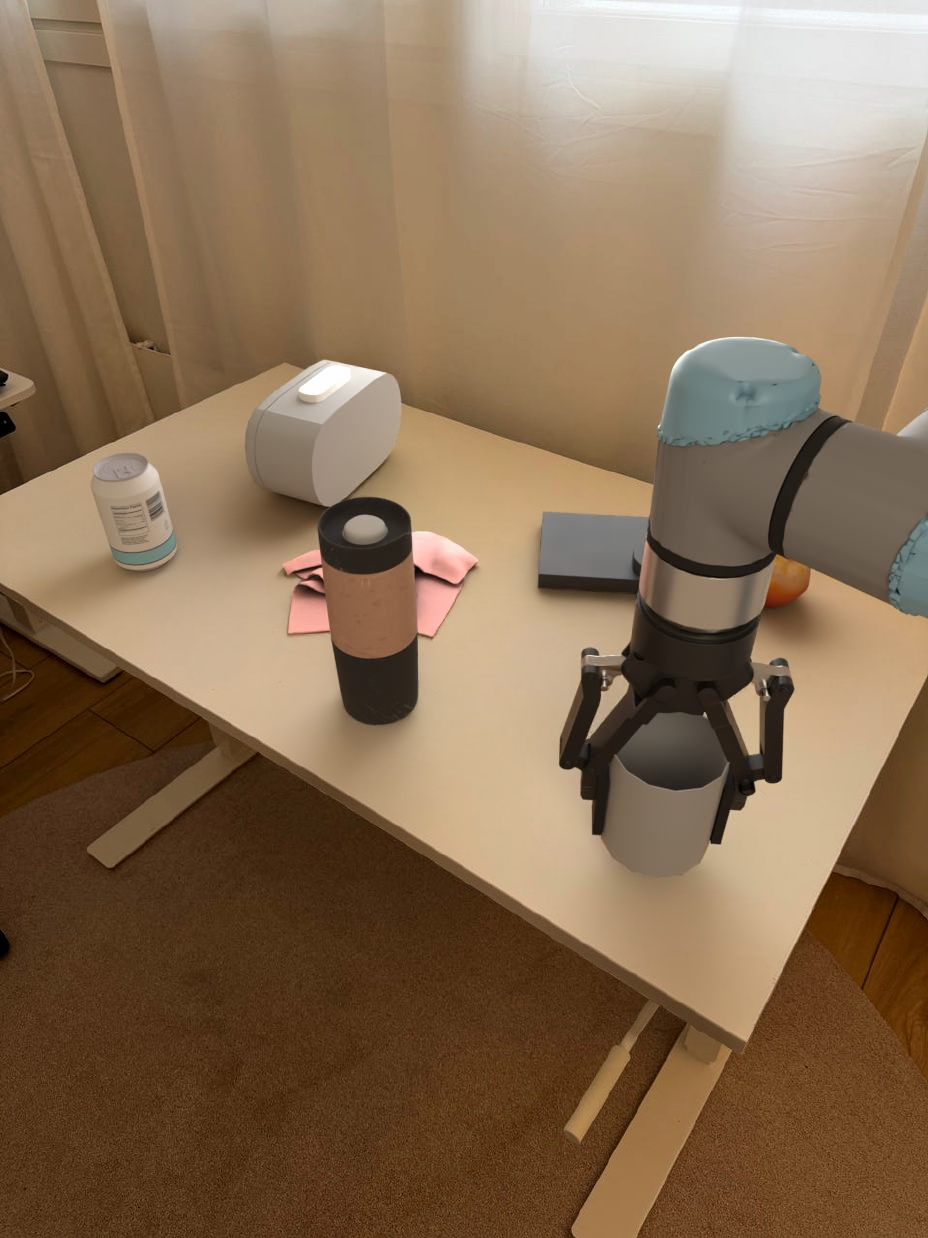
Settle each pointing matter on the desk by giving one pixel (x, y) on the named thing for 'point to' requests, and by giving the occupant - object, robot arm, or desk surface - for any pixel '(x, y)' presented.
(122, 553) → the beverage can
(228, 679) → the desk surface
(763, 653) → the desk surface
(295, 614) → the cloth
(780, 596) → the fruit
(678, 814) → the cup
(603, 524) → the scale
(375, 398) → the alarm clock
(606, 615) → the desk surface
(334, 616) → the travel mug
